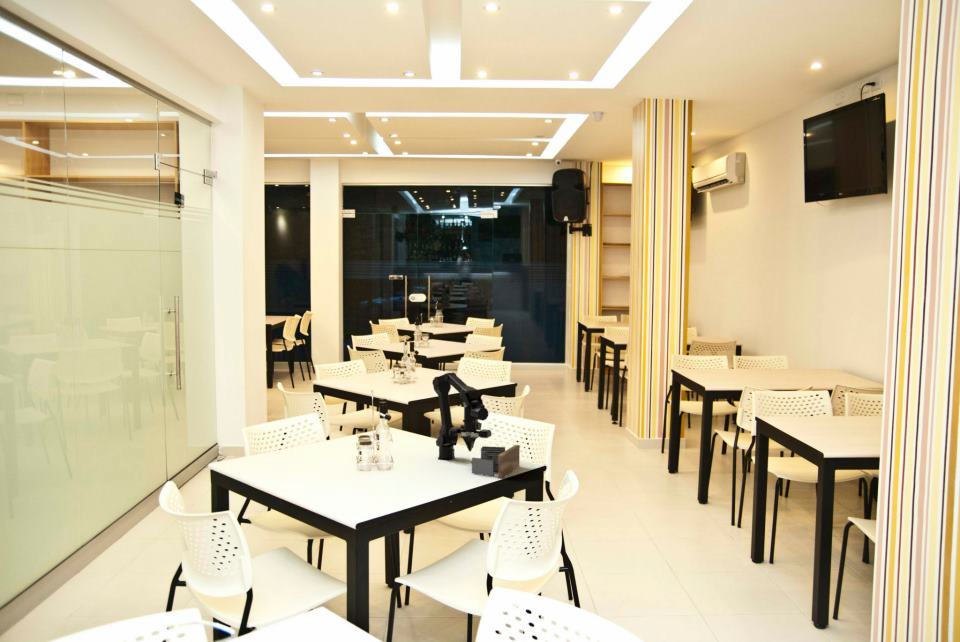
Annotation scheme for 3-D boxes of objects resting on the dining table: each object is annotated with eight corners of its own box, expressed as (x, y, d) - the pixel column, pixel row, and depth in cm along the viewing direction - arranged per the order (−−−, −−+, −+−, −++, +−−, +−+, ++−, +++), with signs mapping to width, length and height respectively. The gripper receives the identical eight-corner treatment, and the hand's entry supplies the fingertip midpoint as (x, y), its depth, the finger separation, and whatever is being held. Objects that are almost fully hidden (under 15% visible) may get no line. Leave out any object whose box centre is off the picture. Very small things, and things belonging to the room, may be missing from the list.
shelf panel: (497, 478, 299) (498, 455, 298) (515, 466, 319) (515, 444, 319) (502, 478, 298) (502, 455, 297) (519, 466, 318) (519, 445, 318)
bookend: (471, 473, 305) (472, 458, 305) (472, 473, 307) (473, 457, 306) (493, 476, 302) (493, 460, 301) (494, 475, 303) (494, 459, 302)
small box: (505, 469, 313) (505, 446, 313) (504, 473, 307) (504, 449, 306) (482, 468, 315) (482, 445, 314) (480, 472, 308) (480, 448, 308)
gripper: (496, 415, 318) (495, 449, 319) (458, 412, 326) (458, 445, 326) (486, 419, 308) (486, 454, 309) (448, 416, 315) (448, 450, 316)
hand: (470, 451), depth 315 cm, fingers closed
